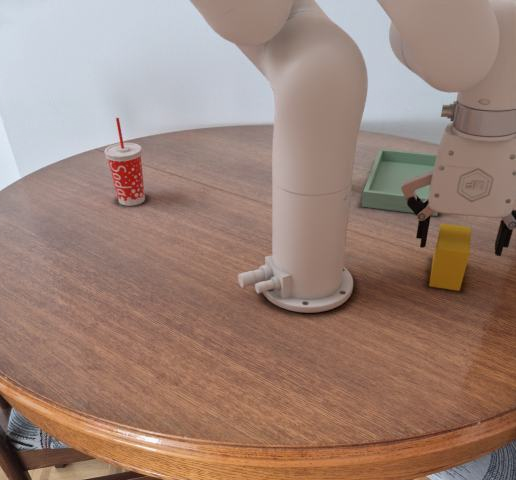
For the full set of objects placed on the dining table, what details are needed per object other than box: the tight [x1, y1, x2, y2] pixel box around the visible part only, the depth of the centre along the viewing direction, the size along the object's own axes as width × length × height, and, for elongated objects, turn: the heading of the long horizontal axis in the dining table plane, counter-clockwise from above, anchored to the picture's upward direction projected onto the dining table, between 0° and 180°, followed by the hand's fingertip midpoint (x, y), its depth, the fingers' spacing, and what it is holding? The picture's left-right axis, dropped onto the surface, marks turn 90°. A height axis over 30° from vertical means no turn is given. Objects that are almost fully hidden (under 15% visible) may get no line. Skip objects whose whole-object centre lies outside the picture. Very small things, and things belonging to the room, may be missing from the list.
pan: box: [361, 148, 439, 217], centre depth 97 cm, size 20×13×3 cm, turn 163°
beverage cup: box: [104, 117, 146, 207], centre depth 91 cm, size 6×6×14 cm
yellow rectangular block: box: [428, 222, 472, 292], centre depth 75 cm, size 7×4×6 cm, turn 163°
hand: (459, 246), depth 74 cm, fingers open, 9 cm apart
